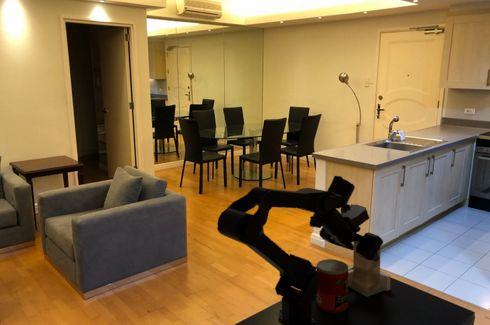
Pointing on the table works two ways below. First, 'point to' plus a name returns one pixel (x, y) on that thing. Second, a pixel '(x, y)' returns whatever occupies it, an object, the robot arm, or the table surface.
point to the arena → (383, 286)
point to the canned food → (332, 285)
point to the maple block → (365, 272)
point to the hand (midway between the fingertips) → (365, 254)
